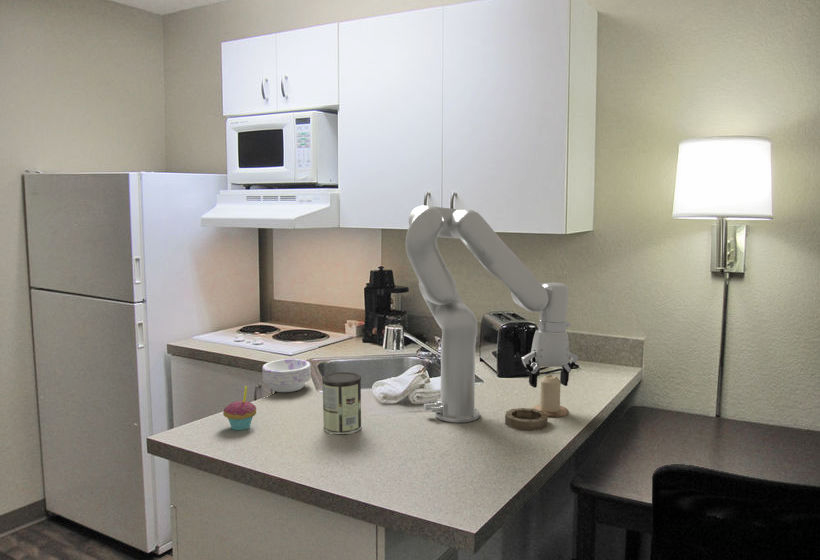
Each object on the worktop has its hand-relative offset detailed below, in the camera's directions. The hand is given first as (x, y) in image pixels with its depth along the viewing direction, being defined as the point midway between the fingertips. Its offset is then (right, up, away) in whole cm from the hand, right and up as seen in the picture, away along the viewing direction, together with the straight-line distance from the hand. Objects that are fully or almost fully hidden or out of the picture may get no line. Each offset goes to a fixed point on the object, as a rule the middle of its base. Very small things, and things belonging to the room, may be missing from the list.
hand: (548, 385), depth 193 cm
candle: (+1, -7, +1) cm, 7 cm away
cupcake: (-85, -10, -12) cm, 86 cm away
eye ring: (-8, -9, -9) cm, 15 cm away
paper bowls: (-79, -5, +23) cm, 82 cm away
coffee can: (-58, -10, -13) cm, 60 cm away
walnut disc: (+1, -8, +1) cm, 8 cm away
